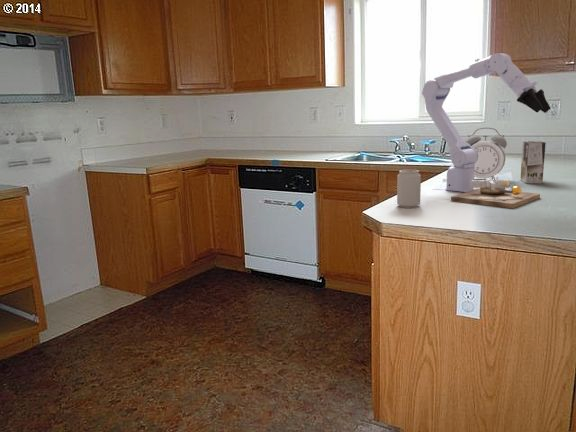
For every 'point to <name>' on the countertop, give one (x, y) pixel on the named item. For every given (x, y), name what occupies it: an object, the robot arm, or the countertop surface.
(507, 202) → the lever board
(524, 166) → the coffee box
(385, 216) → the countertop surface
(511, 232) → the countertop surface
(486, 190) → the capstan
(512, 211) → the countertop surface
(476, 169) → the alarm clock
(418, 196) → the can
